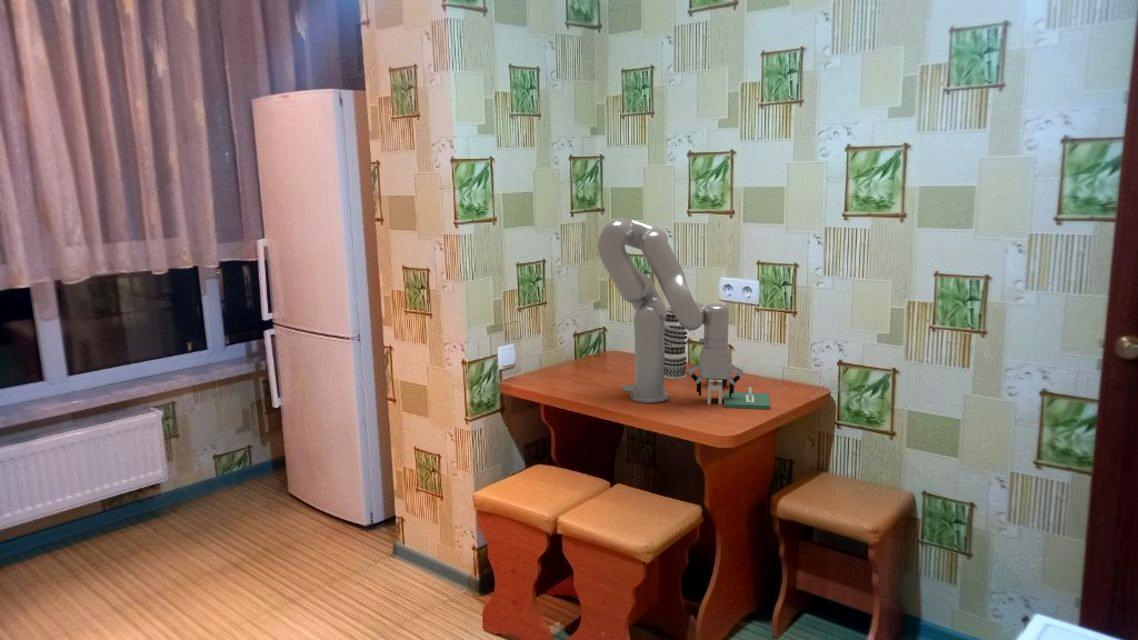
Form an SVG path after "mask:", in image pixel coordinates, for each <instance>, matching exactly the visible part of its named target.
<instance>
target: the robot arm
mask: <svg viewBox="0 0 1138 640" xmlns="http://www.w3.org/2000/svg"><path fill="white" fill-rule="evenodd" d="M626 246H628V247H631V248H634V249H637V250H640V251H641V252H642V255H643V257H644V258H645V260H646V261H647V263H648V266H649V267H650V269H651V270H652V272H653V274H654V276H655V278H656V280H657V281H658V284H659V286H660V289H661V290H662V292H663V294H664V297H665V299H666V300H667V303H668V305H669V307H671V309H672V311H673V313H674V315H675V316H676V318H677V320H678V322H679V323H680V325H681V326H682V327H683V328H684V329H685V331H686V330H687V331H695V330H698V329H699V328H701V326H702V325H703V333H704V334H703V338H700V339H699V344H702V345H703V346H701V349H700V353H699V354H700V355H699V362H698V363H697V364H695V365H693V366H690V367H689V368H688V369H687V371H688V372H687V373H688V374H689V375H690V377H691V379H692V380H693V381H694V382H695V384H696V393H698V396H702V380H703V379H705V380H707V379H724V380H725V379H727V382H729V383H728V384H729V387H728V389H729V390H728V392H729V396H730V397H731V394H734V392H735V384H736V383H737V382H739V380H741V377H742V375H743V374H744V370H743V369H742V368H739V367H738V366H736V365H734V364H733V363H732V361H733V360H732V359H733V358H732V351H731V347H730V346H729V314H730V313H729V310H730V309H729V307H728V306H727V304H723V303H710V304H708V303H700V302H696V301H695V300H694V297H693V296H692V293H691V291H690V289H689V287H688V284H687V280H686V276H685V272H684V269H683V267H682V265H681V264H680V261H678V259H677V257H676V255H675V253H674V251H673V249H672V248H671V246H670V244H669V238H668V236H667V234H666V232H665V231H664V230H662V229H661V228H657V227H655V226H651V225H648V224H645V223H642V222H640V221H636V220H634V219H631V218H627V217H618V218H615V219H612V220H611V221H610V222H607V224H606V225H605V226H604V228H603V229H602V230H601V233H600V235H599V237H598V244H597V251H598V254H599V258H600V261H601V262H602V264H603V266H604V268H605V270H606V271H607V272H608V275H609V276H610V279H611V280H612V282H613V284H614V285H615V287H616V289H617V291H618V293H619V295H620V296H621V298H622V299H623V300H624V301H625V302H628V303H630V304H631V305H632V307H633V310H635V313H634V317H633V327H634V329H633V330H634V361H635V363H634V370H635V372H634V381H635V382H634V383H631V384H621V391H624V393H625V392H626V393H630V394H629V395H630V399H631V400H632V401H633V402H634V401H635V402H637V403H643V404H644V403H645V404H657V403H663V402H667V401H668V400H669V399H670V394H669V393H668V392H667V391H665V378H664V355H665V352H664V333H665V332H664V323H665V319H666V316H667V310H666V309H667V307H666V305H665V303H664V301H663V299H662V297H661V296H660V294H659V292H658V291H657V288H656V286H655V285H654V284H653V281H652V280H651V279H650V278H649V276H648V275H647V273H645V272H643V271H641V270H638V269H637V267H636V266H635V264H634V261H633V260H632V259H631V256H630V254H628V252H627V250H626ZM697 370H698V374H699V375H698V376H697V375H696V374H695V371H697ZM733 371H734V372H735V373H736V375H735V376H734V377H733V376H732V374H733Z"/></svg>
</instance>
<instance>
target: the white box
mask: <svg viewBox="0 0 1138 640" xmlns="http://www.w3.org/2000/svg"><path fill="white" fill-rule="evenodd" d="M712 392H718V400H717V401H718V404H721V405H720V406H722V405H723V388H722V380H709V381H708V384H707V405H711V403H712Z"/></svg>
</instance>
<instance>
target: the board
mask: <svg viewBox="0 0 1138 640" xmlns="http://www.w3.org/2000/svg"><path fill="white" fill-rule="evenodd" d="M723 397H724V400H723V403H724V404H723V407H724V408H725V409H727V408H728V409H730V408H731V409H747V410H749V409H750V410H769V411H770V410H771V401H770V395H769V393H767V392H766V393H765V392H753V388H752V386H748V392H745V391H744V392H743V391H742V392H741V391H734V394H731V397H730V396H729V391H724V396H723Z"/></svg>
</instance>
